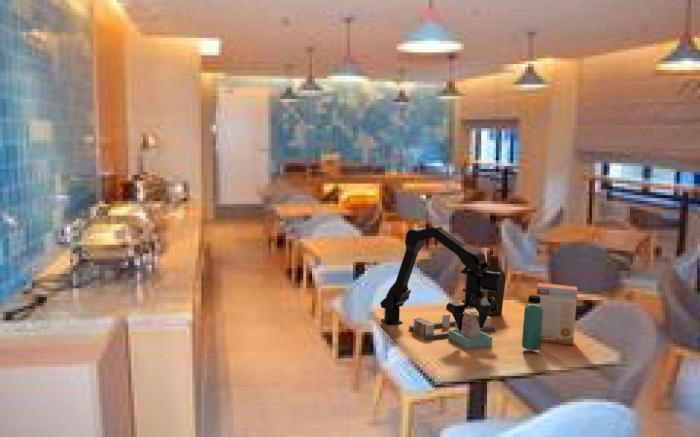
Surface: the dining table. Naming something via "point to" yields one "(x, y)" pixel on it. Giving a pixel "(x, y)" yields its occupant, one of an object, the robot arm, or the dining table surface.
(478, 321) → the walnut block
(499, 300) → the olive oil
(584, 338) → the dining table surface
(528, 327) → the beverage bottle
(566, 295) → the cracker box
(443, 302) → the dining table surface
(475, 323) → the tea bag
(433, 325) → the clip holder
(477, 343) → the teal tray
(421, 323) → the walnut block
